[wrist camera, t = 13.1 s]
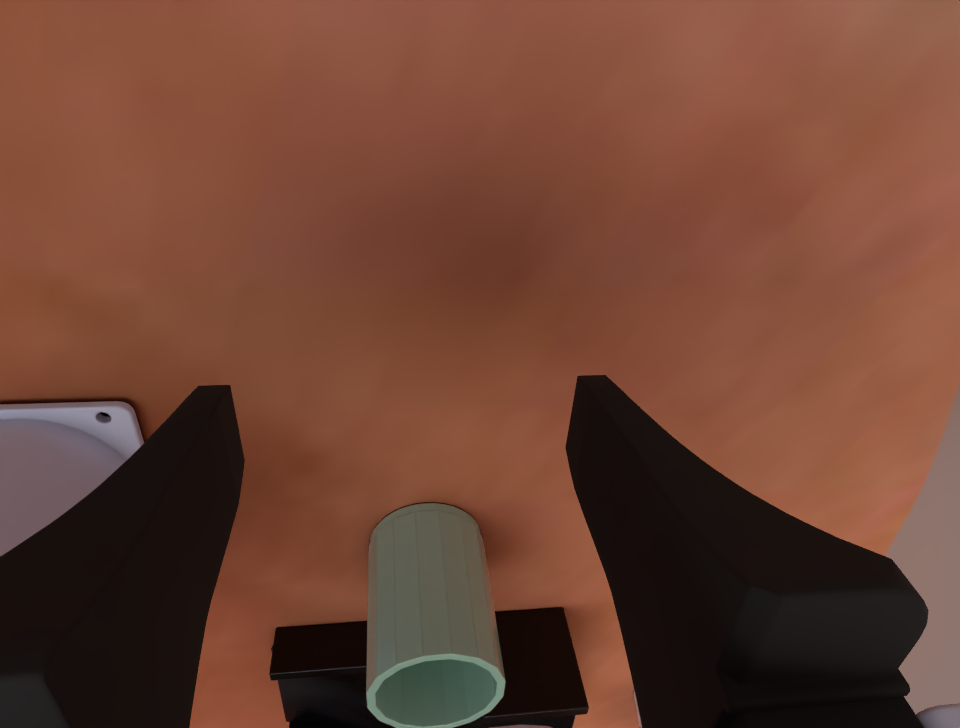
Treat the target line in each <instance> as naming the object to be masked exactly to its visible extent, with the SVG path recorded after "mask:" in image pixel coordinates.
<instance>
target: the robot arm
mask: <svg viewBox="0 0 960 728" xmlns="http://www.w3.org/2000/svg"><path fill="white" fill-rule="evenodd" d="M101 412H103V413H107V414H109V415H110V417H107V416H104V415H102V414H101ZM566 452H567V457H568V462H569V467H570V472H571V476H572V480H573V484H574V489H575V491H576V494H577V497H578V500H579V503H580V506H581V508H582V511H583V514H584V517H585V519H586V522H587V525H588V528H589V530H590V533H591V536H592V538H593V541H594V544H595V547H596V549H597V552H598V555H599V557H600V560H601V563H602V566H603V568H604V571H605V574H606V577H607V580H608V583H609V586H610V589H611V592H612V596H613V600H614V604H615V608H616V612H617V616H618V620H619V624H620V628H621V632H622V636H623V641H624V645H625V649H626V654H627V658H628V663H629V667H630V671H631V676H632V680H633V685H634V690H635V695H636V700H637V705H638V710H639V714H640V719H641V724H642V728H960V704H950V705H940V706H935V707H930V708H927V709H925V710H923V711H921V712H919V713H917V714H916V715H915V713H914V712H913V710H912V709H911V707H910V705H909V704H908V702H907V701H906V699H905V698H904V696H907V695H908V693H909V692H910V687H909V684H908V683H907V681H906V680H905V678H904V677H903V675H902V674H901V672H900V671H899V669H898V668H899V666H900V665H901V663H902V662H903V661H904V659H905V658H906V656H907V655H908V654H909V652H910V651H911V649H912V648H913V647H914V645H915V644H916V642H917V641H918V640H919V638H920V636H921V635H922V633H923V631H924V629H925V627H926V624H927V619H928V609H927V606H926V604H925V602H924V600H923V599H922V598H921V596H920V595H919V594H918V592H917V591H916V590H915V588H914V587H913V586H912V585H911V583H910V582H909V581H908V579H907V578H906V577H905V576H904V574H903V573H902V572H901V570H900V569H899V568H898V566H897V565H896V564H895V563H894V562H893V560H892V559H890V558H888V557H885V556H883V555H880V554H878V553H875V552H872V551H870V550H867V549H865V548H862V547H860V546H857V545H855V544H852V543H850V542H847V541H845V540H842V539H840V538H837V537H835V536H833V535H831V534H828V533H826V532H824V531H822V530H820V529H818V528H816V527H814V526H811V525H809V524H807V523H805V522H803V521H801V520H799V519H797V518H795V517H793V516H791V515H789V514H787V513H785V512H783V511H782V510H780V509H778V508H776V507H774V506H773V505H771V504H769V503H767V502H766V501H764V500H762V499H760V498H758V497H757V496H755V495H753V494H752V493H750V492H748V491H747V490H745V489H743V488H742V487H740V486H739V485H737V484H736V483H734V482H733V481H731V480H730V479H728V478H727V477H725V476H724V475H722V474H721V473H719V472H718V471H716V470H715V469H713V468H712V467H711V466H709V465H708V464H706V463H705V462H704V461H702V460H701V459H700V458H699V457H697V456H696V455H695V454H693V453H692V452H691V451H690V450H688V449H687V448H686V447H685V446H683V445H682V444H681V443H679V442H678V441H677V440H676V439H675V438H674V437H672V436H671V435H670V434H669V433H668V432H666V431H665V430H664V429H663V428H662V427H661V426H660V425H658V424H657V423H656V422H655V421H654V420H653V419H652V418H651V417H650V416H648V415H647V414H646V413H645V412H644V411H643V410H642V409H641V408H640V407H639V406H638V405H637V404H636V403H634V402H633V401H632V400H631V399H630V398H629V397H628V396H627V395H626V394H625V393H624V392H623V391H622V390H621V389H620V388H619V387H618V386H617V385H615V384H614V383H613V382H612V381H611V380H610V379H609V378H608V377H607V376H606V375H593V376H578V377H577V383H576V389H575V395H574V401H573V407H572V413H571V419H570V425H569V431H568V436H567V442H566ZM244 462H245V460H244V455H243V450H242V444H241V439H240V434H239V429H238V424H237V418H236V413H235V408H234V403H233V398H232V392H231V387H230V385H211V386H198V387H197V388H196V389H195V390H194V391H193V392H192V393H191V394H190V395H189V396H188V397H187V398H186V399H185V400H184V401H183V403H182V404H181V405H180V406H179V407H178V408H177V409H176V410H175V411H174V412H173V413H172V414H171V416H170V417H169V418H168V419H167V420H166V421H165V422H164V423H163V424H162V425H161V426H160V427H159V428H158V429H157V430H156V431H155V432H154V433H153V435H152V436H151V437H150V438H149V439H148V440H147V441H146V442H145V443H144V440H143V437H142V434H141V430H140V427H139V424H138V420H137V417H136V414H135V411H134V409H133V407H132V406H130V405H129V404H127V403H125V402H121V401H103V402H69V403H34V404H0V728H189V726H190V718H191V711H192V705H193V698H194V692H195V685H196V679H197V673H198V666H199V660H200V655H201V649H202V643H203V637H204V631H205V626H206V620H207V616H208V612H209V608H210V604H211V599H212V596H213V593H214V589H215V586H216V582H217V579H218V575H219V572H220V568H221V565H222V561H223V558H224V554H225V551H226V547H227V544H228V540H229V537H230V533H231V530H232V526H233V523H234V519H235V515H236V512H237V508H238V504H239V498H240V491H241V484H242V477H243V469H244ZM491 728H552V727H550V726H538V725H512V726H501V727H491Z"/></svg>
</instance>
